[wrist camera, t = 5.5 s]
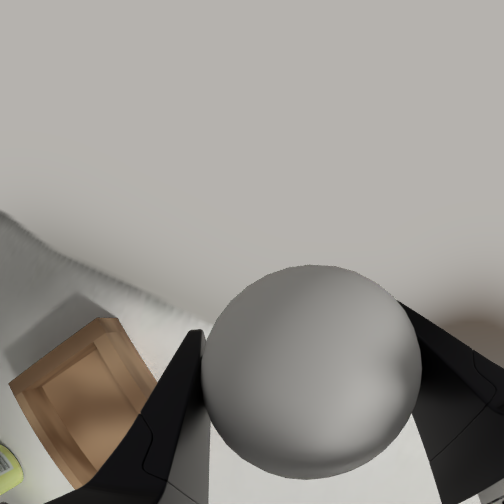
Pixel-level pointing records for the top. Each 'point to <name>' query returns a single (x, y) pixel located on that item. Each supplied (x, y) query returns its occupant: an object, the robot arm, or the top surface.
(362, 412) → the lightbulb
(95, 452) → the u rest
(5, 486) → the tube
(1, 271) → the top surface
